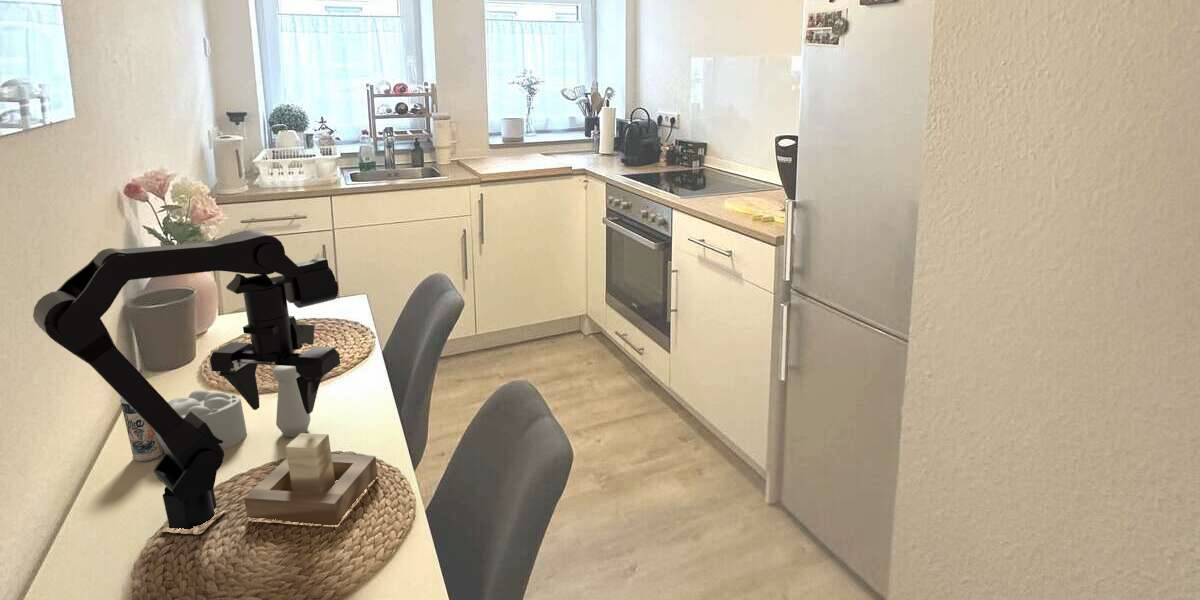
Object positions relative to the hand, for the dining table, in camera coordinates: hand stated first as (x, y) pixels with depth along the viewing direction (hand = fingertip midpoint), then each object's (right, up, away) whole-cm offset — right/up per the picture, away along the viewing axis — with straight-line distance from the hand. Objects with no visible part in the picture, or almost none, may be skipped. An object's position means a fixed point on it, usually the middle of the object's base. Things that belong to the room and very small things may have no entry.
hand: (283, 410), depth 124 cm
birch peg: (+6, -13, -1) cm, 15 cm away
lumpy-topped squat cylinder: (-21, -8, +18) cm, 29 cm away
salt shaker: (-6, -7, +21) cm, 23 cm away
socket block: (+6, -13, -1) cm, 15 cm away
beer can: (-28, -10, +14) cm, 33 cm away
